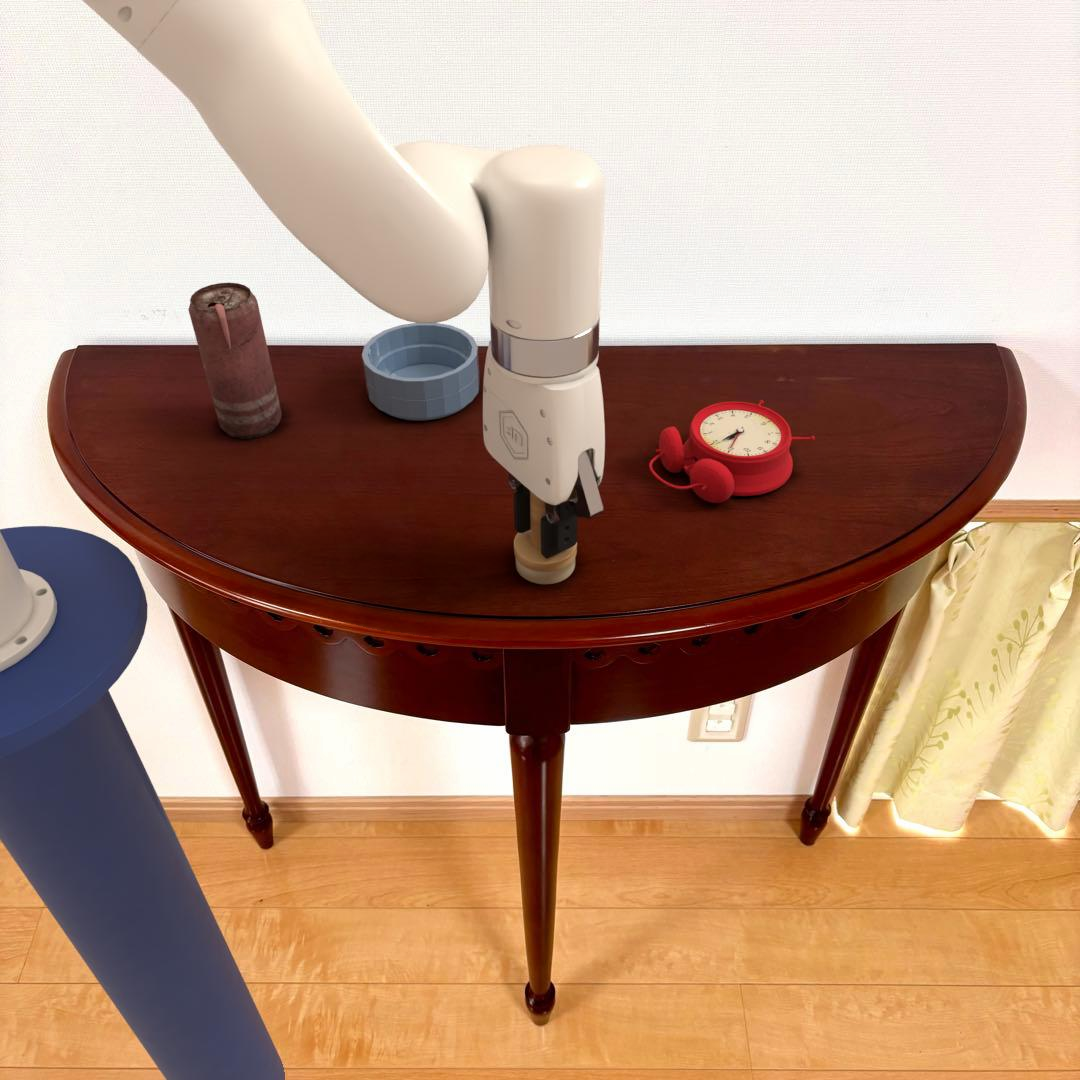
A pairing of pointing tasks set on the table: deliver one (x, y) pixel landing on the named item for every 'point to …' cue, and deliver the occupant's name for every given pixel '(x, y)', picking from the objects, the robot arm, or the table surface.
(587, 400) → the robot arm
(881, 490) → the table surface
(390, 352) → the bowl
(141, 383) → the table surface
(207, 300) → the can
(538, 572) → the dish brush
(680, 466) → the alarm clock
